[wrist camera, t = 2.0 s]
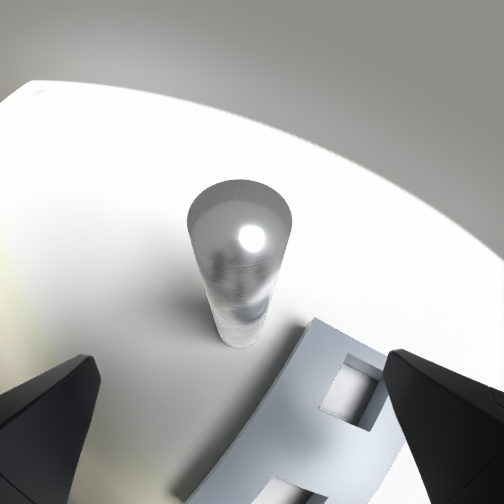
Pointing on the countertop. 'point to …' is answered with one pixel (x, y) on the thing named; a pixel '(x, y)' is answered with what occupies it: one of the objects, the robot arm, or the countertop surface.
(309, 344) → the socket block
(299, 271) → the countertop surface
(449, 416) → the robot arm
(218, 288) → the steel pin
